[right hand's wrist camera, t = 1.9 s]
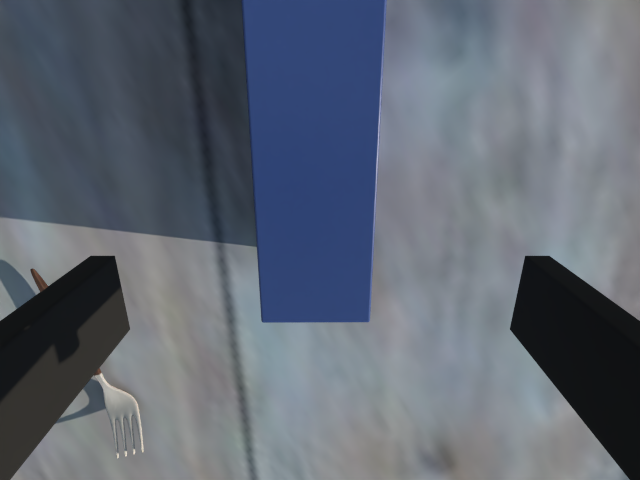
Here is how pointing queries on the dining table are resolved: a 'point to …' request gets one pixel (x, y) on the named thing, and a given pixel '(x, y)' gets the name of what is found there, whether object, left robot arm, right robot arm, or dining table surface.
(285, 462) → the dining table surface
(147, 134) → the dining table surface
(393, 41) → the dining table surface
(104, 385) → the fork
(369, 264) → the bar
